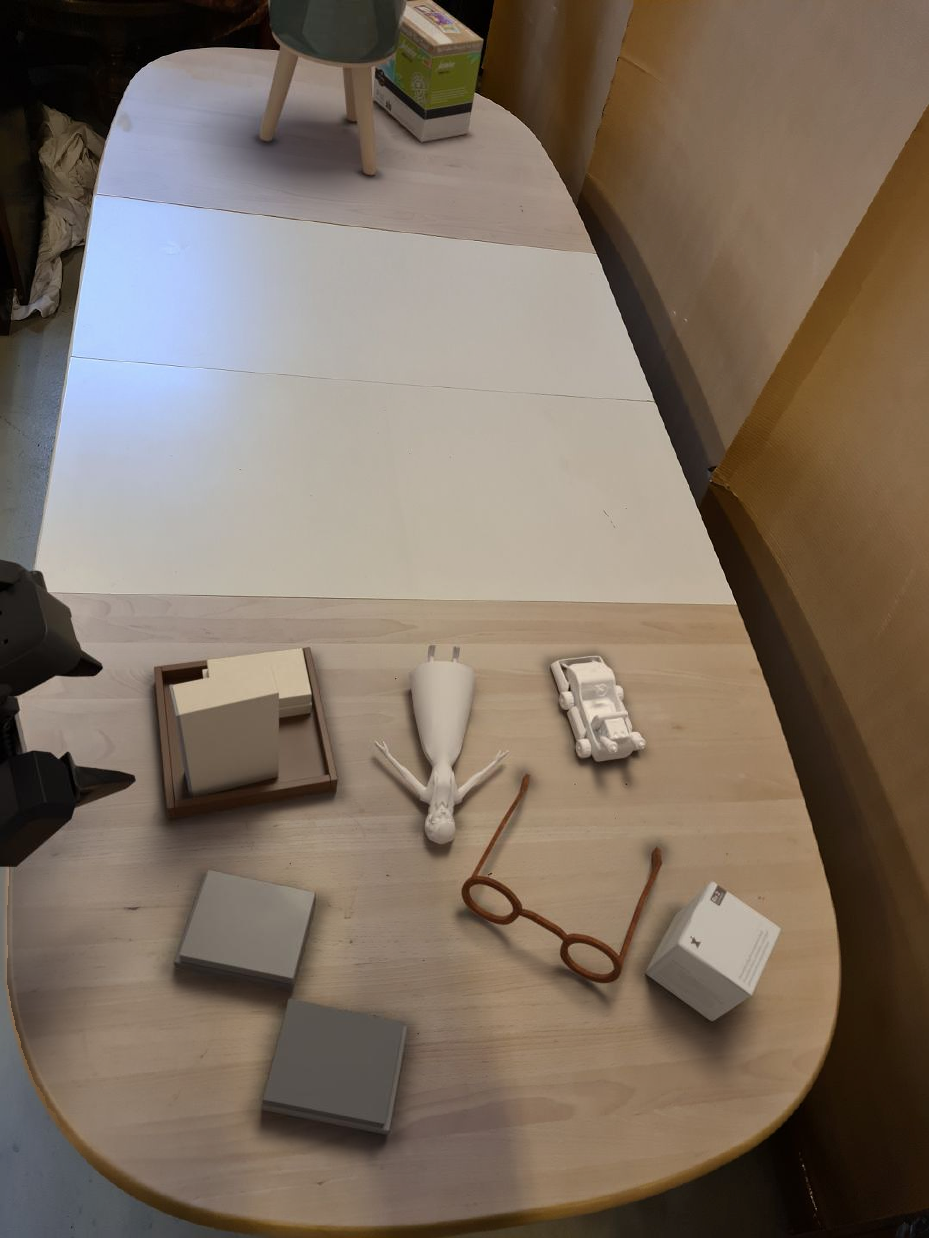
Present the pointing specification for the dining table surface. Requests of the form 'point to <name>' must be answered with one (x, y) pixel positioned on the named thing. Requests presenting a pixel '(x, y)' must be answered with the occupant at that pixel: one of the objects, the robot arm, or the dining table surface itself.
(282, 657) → the white book stack
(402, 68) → the tea box
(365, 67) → the planter
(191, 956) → the grey book stack left
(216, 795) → the book tray
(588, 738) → the toy car
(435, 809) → the woman figurine
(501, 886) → the glasses
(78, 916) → the dining table surface
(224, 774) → the white book
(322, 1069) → the dark grey book stack
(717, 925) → the white cardboard box
